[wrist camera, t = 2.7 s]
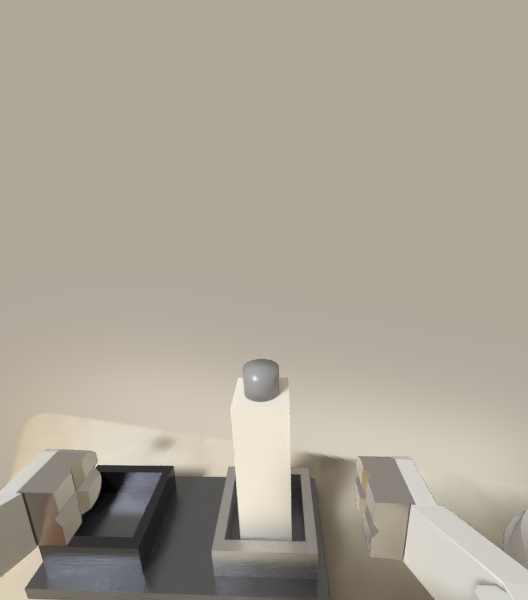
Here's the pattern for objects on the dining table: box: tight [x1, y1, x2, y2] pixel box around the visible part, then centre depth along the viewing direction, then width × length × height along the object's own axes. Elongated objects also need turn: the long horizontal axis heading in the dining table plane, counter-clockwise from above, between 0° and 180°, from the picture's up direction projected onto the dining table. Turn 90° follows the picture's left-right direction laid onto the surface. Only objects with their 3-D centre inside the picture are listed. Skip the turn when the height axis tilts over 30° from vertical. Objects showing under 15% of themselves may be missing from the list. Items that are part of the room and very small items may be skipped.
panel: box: [25, 465, 330, 600], centre depth 26 cm, size 22×10×4 cm, turn 87°
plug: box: [231, 359, 292, 541], centre depth 24 cm, size 4×4×15 cm
